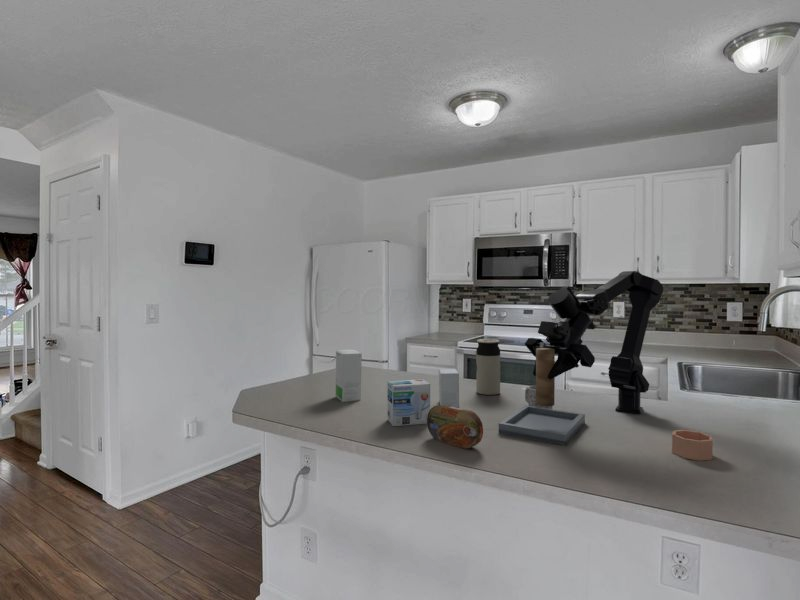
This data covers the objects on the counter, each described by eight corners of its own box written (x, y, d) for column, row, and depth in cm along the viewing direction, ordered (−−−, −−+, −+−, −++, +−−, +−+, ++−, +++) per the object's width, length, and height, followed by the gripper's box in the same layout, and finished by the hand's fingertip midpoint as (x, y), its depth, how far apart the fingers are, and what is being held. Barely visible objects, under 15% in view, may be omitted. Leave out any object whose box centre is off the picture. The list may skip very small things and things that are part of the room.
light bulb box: (392, 427, 117) (392, 386, 116) (386, 419, 123) (386, 380, 123) (431, 423, 120) (431, 383, 119) (423, 416, 126) (423, 378, 126)
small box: (459, 408, 134) (459, 373, 134) (440, 408, 134) (440, 373, 134) (456, 401, 142) (456, 368, 142) (438, 401, 142) (438, 368, 142)
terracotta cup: (673, 445, 102) (673, 428, 102) (712, 451, 98) (712, 433, 98) (671, 455, 96) (671, 437, 96) (712, 462, 92) (712, 443, 92)
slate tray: (525, 413, 128) (525, 405, 128) (584, 423, 119) (584, 413, 119) (498, 433, 111) (498, 423, 111) (565, 445, 102) (565, 435, 102)
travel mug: (503, 391, 155) (503, 339, 154) (495, 396, 148) (495, 342, 147) (481, 389, 159) (481, 338, 158) (472, 393, 152) (472, 340, 152)
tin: (426, 437, 109) (425, 402, 109) (434, 434, 111) (434, 400, 111) (477, 453, 98) (477, 415, 98) (485, 449, 100) (485, 412, 100)
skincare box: (335, 396, 149) (334, 350, 149) (354, 394, 152) (353, 348, 151) (342, 402, 141) (342, 353, 141) (362, 400, 144) (362, 352, 144)
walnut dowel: (550, 401, 116) (550, 347, 116) (557, 406, 112) (557, 350, 111) (533, 401, 116) (533, 348, 116) (539, 406, 112) (539, 350, 111)
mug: (557, 412, 130) (557, 389, 129) (538, 414, 127) (538, 391, 127) (534, 403, 139) (534, 382, 139) (516, 406, 136) (516, 384, 136)
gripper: (529, 308, 123) (499, 351, 119) (587, 311, 107) (554, 361, 102) (550, 335, 128) (521, 377, 123) (608, 342, 111) (577, 391, 106)
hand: (541, 376), depth 113 cm, fingers closed on walnut dowel, 4 cm apart
